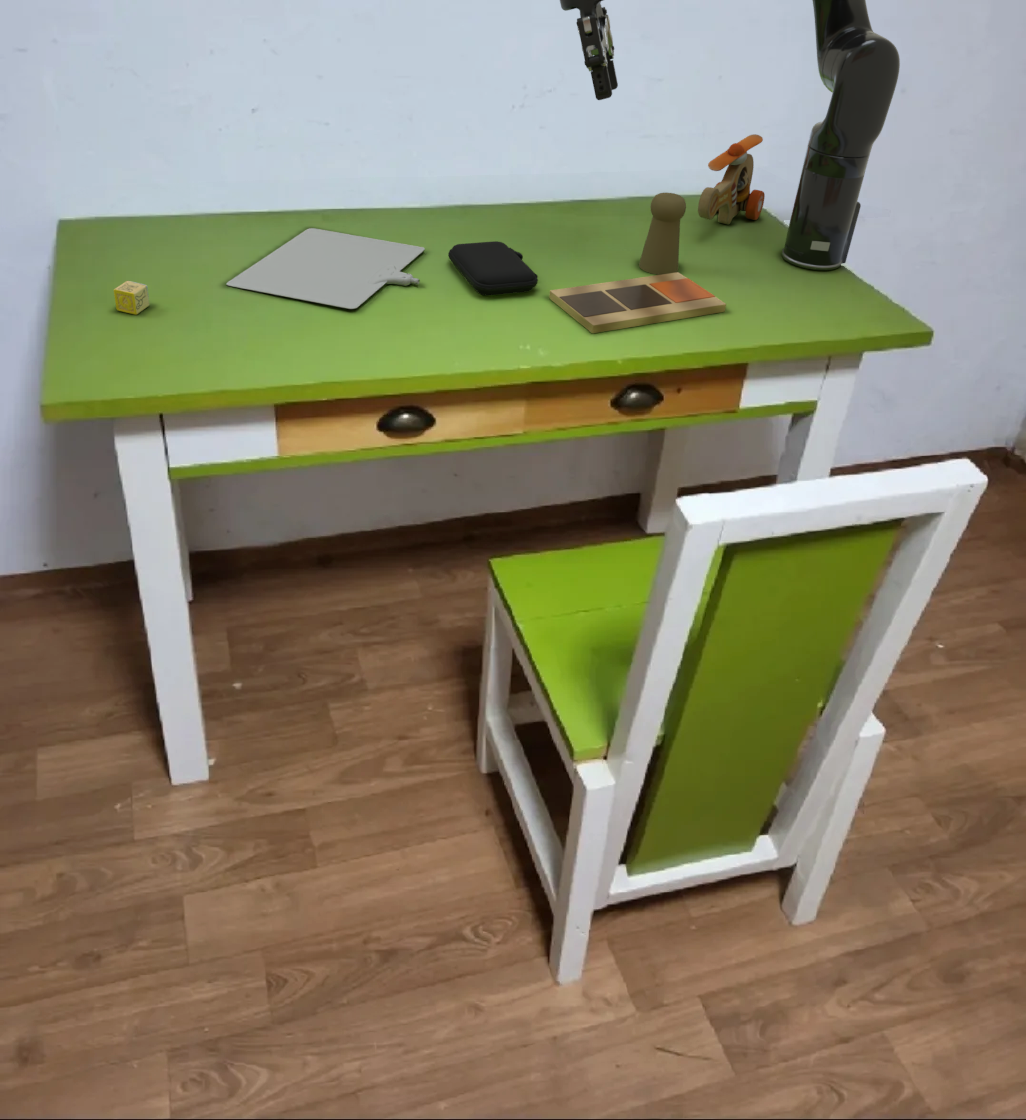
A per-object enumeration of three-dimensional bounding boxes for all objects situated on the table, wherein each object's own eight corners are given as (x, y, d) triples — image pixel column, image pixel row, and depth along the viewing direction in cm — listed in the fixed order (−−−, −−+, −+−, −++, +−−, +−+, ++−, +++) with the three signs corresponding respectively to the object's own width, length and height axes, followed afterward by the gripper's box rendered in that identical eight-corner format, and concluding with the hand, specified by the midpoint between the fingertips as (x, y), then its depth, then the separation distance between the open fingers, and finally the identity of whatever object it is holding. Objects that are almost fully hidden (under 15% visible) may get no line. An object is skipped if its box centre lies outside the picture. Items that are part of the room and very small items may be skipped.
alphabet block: (150, 306, 138) (147, 284, 136) (137, 315, 136) (134, 293, 134) (129, 302, 139) (126, 279, 137) (116, 311, 136) (112, 288, 134)
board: (676, 279, 158) (678, 271, 158) (724, 311, 150) (726, 303, 149) (548, 298, 149) (549, 289, 149) (592, 333, 141) (593, 324, 140)
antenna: (381, 319, 140) (381, 310, 139) (224, 289, 145) (223, 280, 145) (450, 256, 159) (450, 248, 158) (309, 231, 164) (309, 224, 164)
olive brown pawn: (676, 277, 159) (689, 204, 152) (636, 271, 160) (647, 198, 153) (679, 262, 164) (692, 191, 157) (640, 257, 164) (651, 186, 158)
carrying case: (548, 294, 150) (510, 255, 161) (550, 274, 149) (512, 236, 159) (478, 301, 147) (444, 261, 158) (479, 280, 145) (444, 241, 156)
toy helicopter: (763, 215, 185) (781, 133, 176) (721, 249, 170) (738, 162, 162) (719, 204, 188) (734, 123, 179) (674, 237, 173) (689, 150, 165)
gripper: (604, -42, 132) (630, 94, 140) (614, -46, 144) (638, 80, 152) (546, -25, 134) (575, 109, 142) (561, -30, 146) (587, 94, 154)
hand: (607, 94), depth 147 cm, fingers open, 8 cm apart
